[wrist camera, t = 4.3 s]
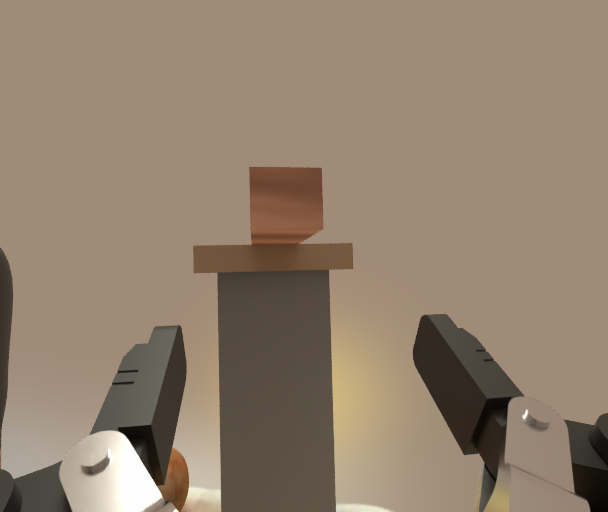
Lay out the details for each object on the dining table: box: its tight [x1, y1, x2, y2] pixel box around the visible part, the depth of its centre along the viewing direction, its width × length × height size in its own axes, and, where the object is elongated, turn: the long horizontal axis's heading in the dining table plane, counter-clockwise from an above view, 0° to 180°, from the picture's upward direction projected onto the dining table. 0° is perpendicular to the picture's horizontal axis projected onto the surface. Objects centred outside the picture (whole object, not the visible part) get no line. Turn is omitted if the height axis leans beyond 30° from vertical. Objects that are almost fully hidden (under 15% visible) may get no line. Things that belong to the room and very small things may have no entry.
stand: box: [193, 243, 353, 512], centre depth 34 cm, size 16×12×32 cm
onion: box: [156, 447, 189, 512], centre depth 42 cm, size 10×10×10 cm
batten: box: [249, 167, 323, 245], centre depth 30 cm, size 26×4×3 cm, turn 8°
